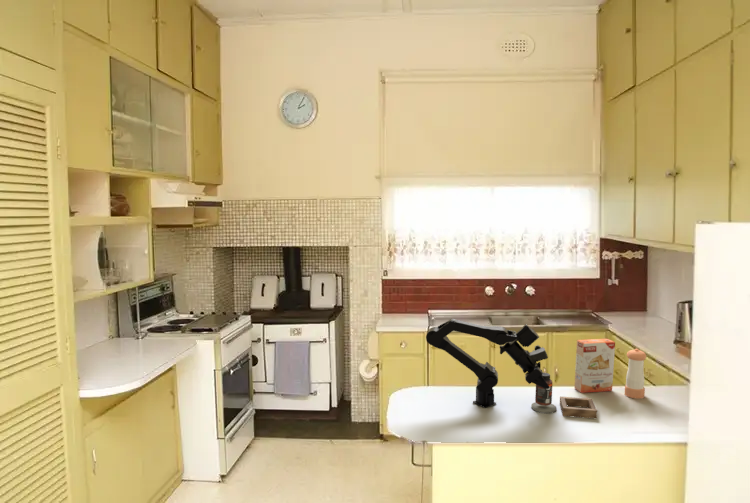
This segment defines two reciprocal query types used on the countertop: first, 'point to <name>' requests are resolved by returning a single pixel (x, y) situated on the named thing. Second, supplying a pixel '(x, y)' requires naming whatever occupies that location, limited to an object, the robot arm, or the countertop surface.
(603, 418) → the countertop surface
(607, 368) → the cracker box
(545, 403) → the supplement bottle
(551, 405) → the grey round disc
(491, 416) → the countertop surface
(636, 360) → the pepper shaker
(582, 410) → the walnut holder
